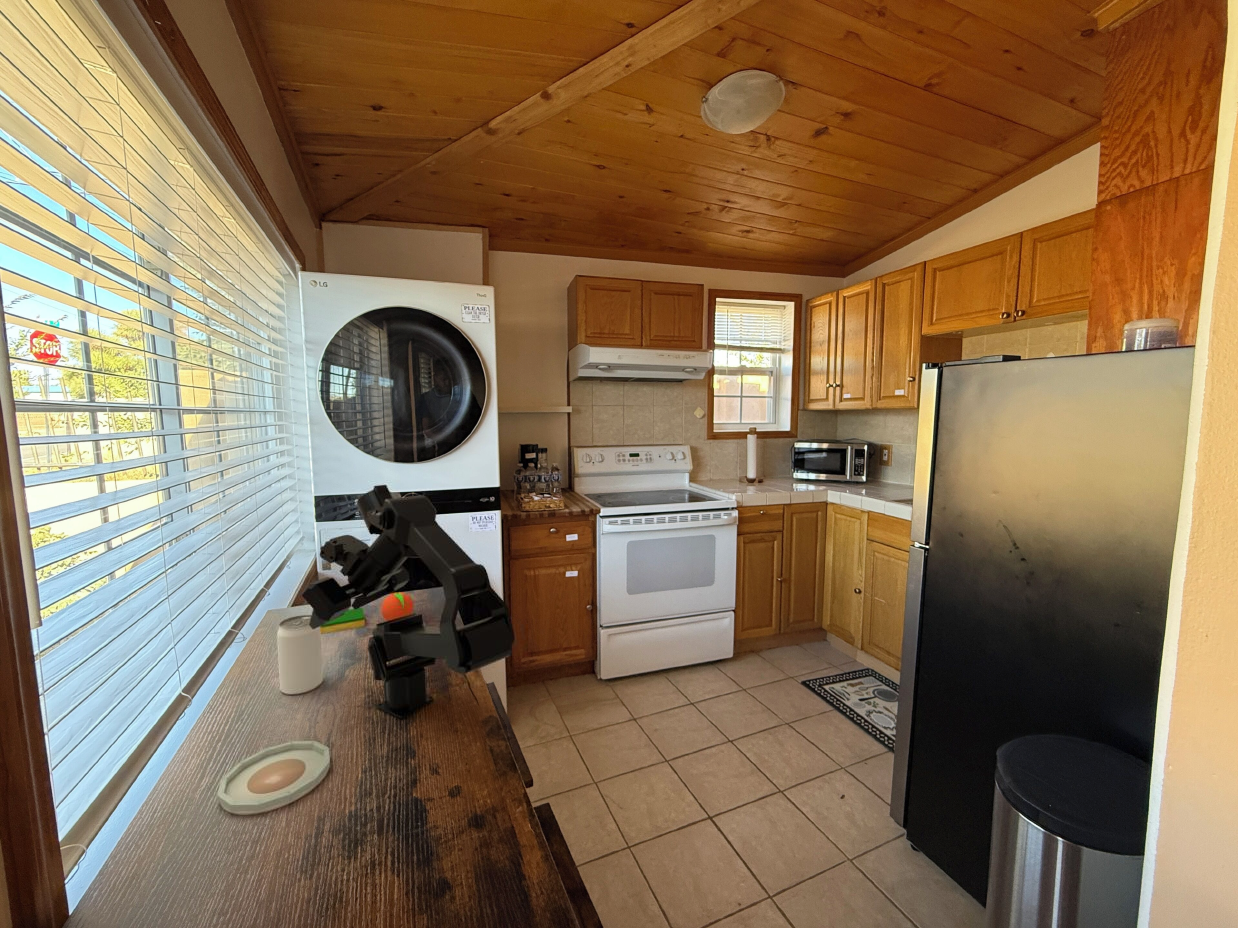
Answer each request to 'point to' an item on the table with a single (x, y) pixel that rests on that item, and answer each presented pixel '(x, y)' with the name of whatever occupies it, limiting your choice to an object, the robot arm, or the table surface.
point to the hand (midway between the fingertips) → (333, 616)
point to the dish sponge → (345, 621)
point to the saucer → (274, 777)
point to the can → (299, 655)
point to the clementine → (397, 606)
